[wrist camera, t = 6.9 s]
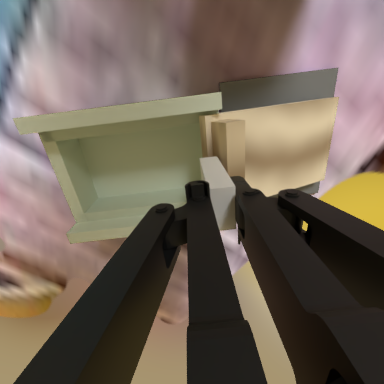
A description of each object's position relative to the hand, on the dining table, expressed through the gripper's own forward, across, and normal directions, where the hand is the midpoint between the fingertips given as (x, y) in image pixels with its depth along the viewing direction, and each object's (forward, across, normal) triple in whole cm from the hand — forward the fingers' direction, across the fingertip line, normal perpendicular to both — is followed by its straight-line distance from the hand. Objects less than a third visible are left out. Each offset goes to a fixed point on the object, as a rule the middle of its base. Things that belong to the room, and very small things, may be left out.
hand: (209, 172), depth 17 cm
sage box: (+7, -7, 0) cm, 10 cm away
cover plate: (+4, +7, 0) cm, 8 cm away
